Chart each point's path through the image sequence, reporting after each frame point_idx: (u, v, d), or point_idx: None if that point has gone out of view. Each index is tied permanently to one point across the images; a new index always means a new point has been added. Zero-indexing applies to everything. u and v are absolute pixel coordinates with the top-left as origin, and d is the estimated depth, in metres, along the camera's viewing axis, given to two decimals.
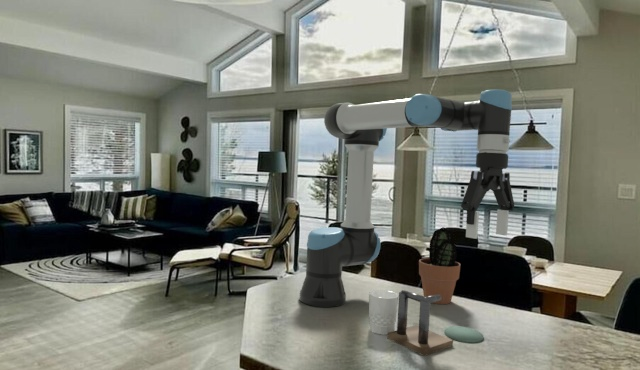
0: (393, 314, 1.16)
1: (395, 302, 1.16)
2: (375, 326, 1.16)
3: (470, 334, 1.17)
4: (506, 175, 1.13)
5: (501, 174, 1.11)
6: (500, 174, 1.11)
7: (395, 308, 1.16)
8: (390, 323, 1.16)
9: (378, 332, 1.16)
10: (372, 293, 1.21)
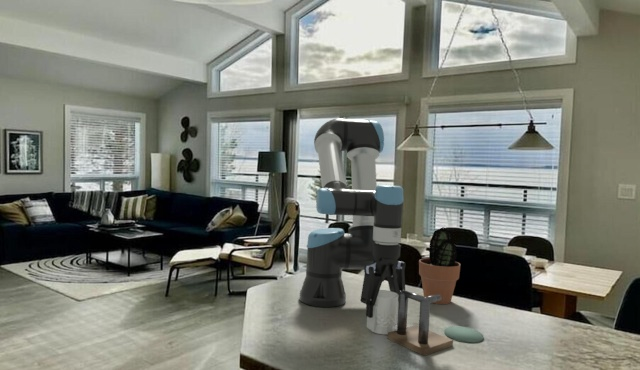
0: (393, 314, 1.16)
1: (395, 302, 1.16)
2: None
3: (470, 334, 1.17)
4: (402, 264, 1.21)
5: (396, 262, 1.19)
6: (395, 262, 1.19)
7: (395, 308, 1.16)
8: (390, 323, 1.16)
9: (378, 332, 1.16)
10: None
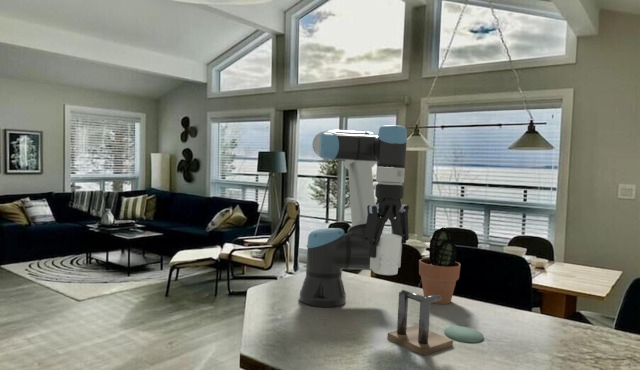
0: (396, 255, 1.15)
1: (399, 242, 1.15)
2: None
3: (470, 334, 1.17)
4: (405, 207, 1.20)
5: (399, 203, 1.18)
6: (398, 204, 1.18)
7: (398, 249, 1.16)
8: (393, 263, 1.15)
9: (381, 273, 1.15)
10: None
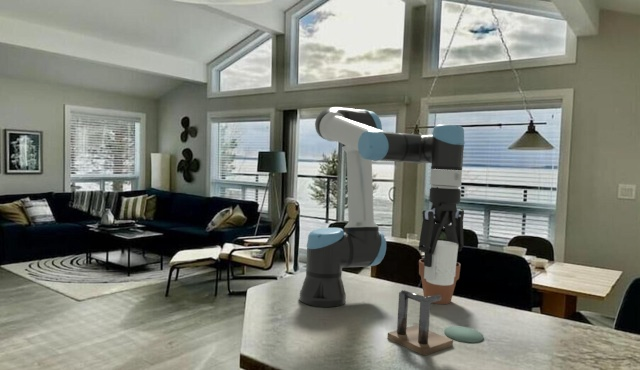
0: (453, 263, 1.07)
1: (456, 250, 1.07)
2: None
3: (470, 334, 1.17)
4: (460, 212, 1.12)
5: (455, 208, 1.10)
6: (453, 209, 1.10)
7: (455, 257, 1.08)
8: (450, 273, 1.07)
9: (437, 283, 1.07)
10: None
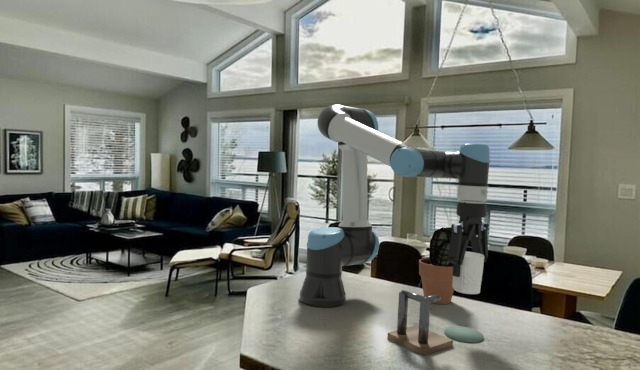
0: (480, 273, 1.14)
1: (482, 261, 1.15)
2: None
3: (470, 334, 1.17)
4: (485, 225, 1.20)
5: (480, 222, 1.18)
6: (479, 222, 1.18)
7: (482, 267, 1.15)
8: (477, 282, 1.14)
9: (465, 292, 1.14)
10: None
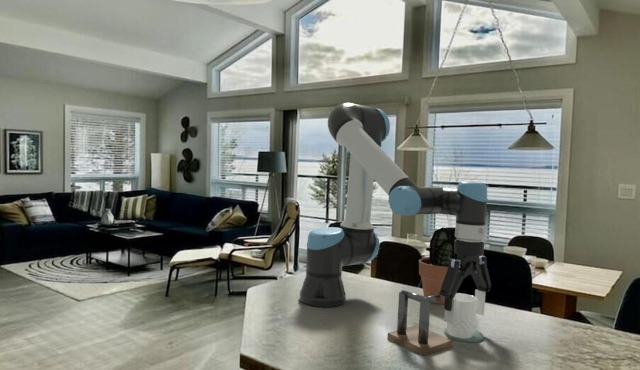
0: (473, 318, 1.14)
1: (475, 305, 1.14)
2: (455, 330, 1.14)
3: None
4: (483, 259, 1.20)
5: (478, 259, 1.18)
6: (477, 259, 1.18)
7: (475, 312, 1.14)
8: (470, 327, 1.14)
9: (458, 336, 1.14)
10: None
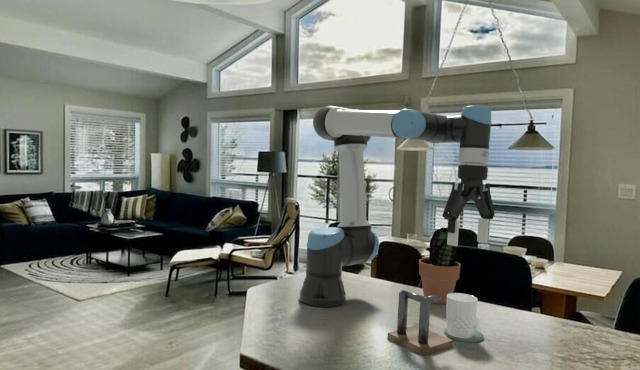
0: (473, 318, 1.14)
1: (475, 305, 1.14)
2: (455, 330, 1.14)
3: None
4: (486, 186, 1.20)
5: (481, 185, 1.18)
6: (480, 185, 1.18)
7: (475, 312, 1.14)
8: (470, 327, 1.14)
9: (458, 336, 1.14)
10: (448, 296, 1.19)
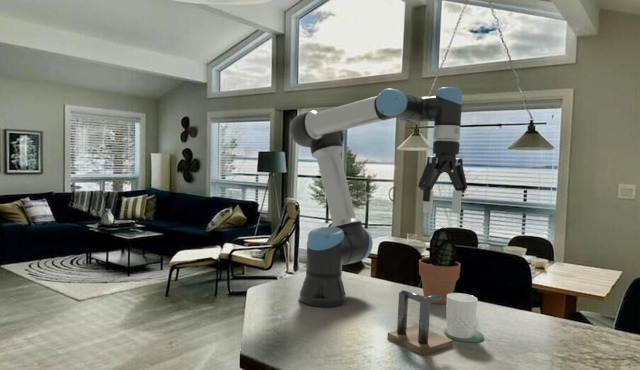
0: (473, 318, 1.14)
1: (475, 305, 1.14)
2: (455, 330, 1.14)
3: None
4: (459, 160, 1.32)
5: (454, 159, 1.30)
6: (453, 159, 1.30)
7: (475, 312, 1.14)
8: (470, 327, 1.14)
9: (458, 336, 1.14)
10: (449, 296, 1.19)
